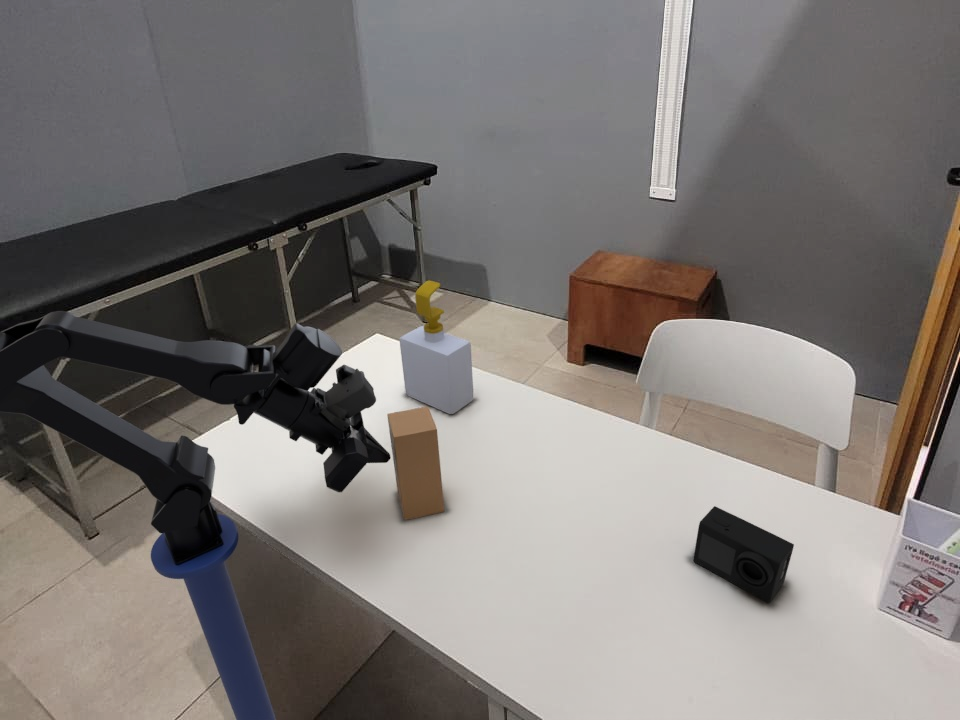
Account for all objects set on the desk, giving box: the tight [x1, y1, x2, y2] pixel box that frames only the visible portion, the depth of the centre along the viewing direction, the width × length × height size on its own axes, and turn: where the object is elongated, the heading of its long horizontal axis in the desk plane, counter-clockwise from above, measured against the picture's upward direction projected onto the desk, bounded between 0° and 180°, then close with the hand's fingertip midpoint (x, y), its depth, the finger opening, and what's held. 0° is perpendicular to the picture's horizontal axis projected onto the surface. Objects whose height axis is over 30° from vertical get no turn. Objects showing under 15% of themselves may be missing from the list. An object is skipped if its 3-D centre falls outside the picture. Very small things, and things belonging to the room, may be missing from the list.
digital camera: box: [692, 505, 795, 604], centre depth 82 cm, size 10×5×7 cm, turn 46°
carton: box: [386, 405, 445, 521], centre depth 94 cm, size 6×6×15 cm
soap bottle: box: [399, 279, 474, 415], centre depth 118 cm, size 12×7×23 cm, turn 51°
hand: (388, 458), depth 93 cm, fingers closed
